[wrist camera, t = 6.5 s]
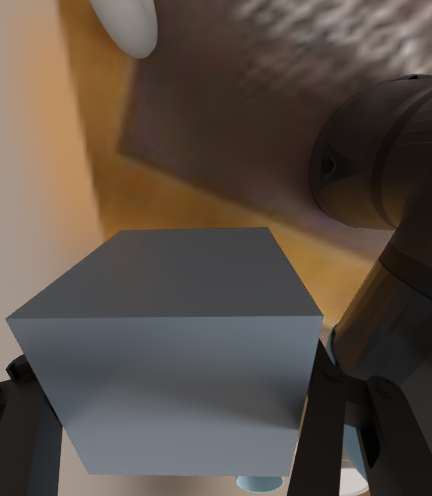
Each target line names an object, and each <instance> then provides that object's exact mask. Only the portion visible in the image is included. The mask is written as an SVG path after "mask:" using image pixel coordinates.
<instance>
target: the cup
mask: <svg viewBox="0 0 432 496" xmlns="http://www.w3.org/2000/svg"><path fill="white" fill-rule="evenodd" d="M236 483H237V485H238V486H239V487H240V488H242V489H244V490H246V491H249V492H255V493H266V492H271V491H275V490H277V489H279V488H280V487H282V486H283V484H284V478H283V477H265V476H236Z"/></svg>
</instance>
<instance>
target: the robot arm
mask: <svg viewBox="0 0 432 496" xmlns="http://www.w3.org/2000/svg"><path fill="white" fill-rule="evenodd" d="M309 175H310V185H311V189H312V192H313V195H314V197H315V199H316V201H317V203H318V204H319V206H320V207H321V208H322V209H323V211H325V212H326V213H327V214H328V215H329V216H331V217H332V218H334V219H336V220H337V221H339V222H341V223H343V224H345V225H347V226H350V227H354V228H358V229H365V230H396V231H395V232H394V234H393V236H392V237H391V239H390V241H389V242H388V244H387V246H386V247H385V249H384V251H383V252H382V254H381V255H380V257H379V258H378V259H377V261H376V263H375V264H374V266H373V267H372V269H371V271H370V272H369V274H368V276H367V277H366V279H365V280H364V282H363V284H362V285H361V287H360V289H359V290H358V292H357V293H356V295H355V297H354V298H353V300H352V302H351V303H350V305H349V307H348V308H347V310H346V311H345V313H344V315H343V316H342V318H341V320H340V321H339V323H338V324H336V325H335V326H334V327H333V328H332V331H331V333H330V335H329V336H328V341H327V345H326V346H325V348H324V346H323V344H322V342H321V340H320V338H319V340H318V344H317V349H316V354H315V358H314V363H313V368H312V372H311V377H310V381H309V386H308V391H307V397H308V402H307V406H306V411H305V416H304V420H303V425H302V429H301V434H300V438H299V443H298V447H297V452H296V456H295V461H294V466H293V470H292V474H291V479H290V484H289V488H288V492H287V496H339V493H340V479H341V465H342V450H343V451H344V452H345V454H346V455H347V457H348V458H349V460H350V461H351V463H352V464H353V465H354V467H355V468H356V469H357V471H358V472H359V473H360V474H361V476H362V477H363V478H364V479H365V480H366V482H367V483H368V486H369V490H370V495H371V496H432V75H423V74H413V75H405V76H399V77H395V78H392V79H389V80H386V81H383V82H381V83H379V84H376V85H374V86H372V87H370V88H368V89H366V90H364V91H362V92H360V93H358V94H357V95H355V96H354V97H352V98H351V99H349V100H348V101H347V102H346V103H344V104H343V105H342V106H341V107H340V108H339V109H338V110H337V111H336V112H335V113H334V114H333V116H332V117H331V118H330V119H329V121H328V122H327V123H326V125H325V126H324V128H323V129H322V131H321V133H320V135H319V137H318V139H317V141H316V144H315V146H314V149H313V152H312V156H311V161H310V171H309ZM6 371H7V373H8V375H9V376H10V378H11V379H10V380H7V381H3V382H0V496H57V495H58V482H59V468H60V455H61V442H62V427H63V425H62V423H61V422H60V420H59V418H58V416H57V414H56V412H55V410H54V409H53V407H52V405H51V403H50V401H49V399H48V397H47V396H46V394H45V392H44V390H43V388H42V386H41V384H40V383H39V381H38V379H37V377H36V375H35V373H34V371H33V370H32V368H31V366H30V364H29V362H28V360H27V358H26V357H25V355H24V354H23V355H21V356H19V357H18V358H16V359H15V360H13V361H12V362H11V363H10V364H9V365H8V367H7V368H6Z"/></svg>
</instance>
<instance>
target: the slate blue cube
mask: <svg viewBox="0 0 432 496" xmlns="http://www.w3.org/2000/svg"><path fill="white" fill-rule="evenodd" d="M323 317H324V316H323V314H322V312H321V311H320V309H319V308H318V306H317V305H316V303H315V301H314V300H313V298H312V297H311V295H310V294H309V292H308V290H307V289H306V287H305V286H304V284H303V283H302V281H301V279H300V278H299V276H298V275H297V273H296V272H295V270H294V268H293V267H292V265H291V264H290V262H289V261H288V259H287V257H286V256H285V254H284V253H283V251H282V250H281V248H280V246H279V245H278V243H277V242H276V240H275V239H274V237H273V235H272V234H271V232H270V231H269V229H268V227H257V228H212V229H166V230H121V231H119V232H118V233H117V234H115V235H114V236H113V237H111V238H110V239H109V240H108V241H106V242H105V243H104V244H102V245H101V246H100V247H98V248H97V249H96V250H95V251H93V252H92V253H91V254H89V255H88V256H87V257H85V258H84V259H83V260H81V261H80V262H79V263H78V264H76V265H75V266H74V267H72V268H71V269H70V270H68V271H67V272H66V273H64V274H63V275H62V276H61V277H59V278H58V279H57V280H55V281H54V282H53V283H51V284H50V285H49V286H48V287H46V288H45V289H44V290H42V291H41V292H40V293H38V294H37V295H36V296H34V297H33V298H32V299H31V300H29V301H28V302H27V303H25V304H24V305H23V306H22V307H20V308H19V309H17V310H16V311H15V312H14V313H12V314H11V315H10V316H8V317H7V318H6V321H7V323H8V325H9V327H10V329H11V331H12V332H13V334H14V336H15V338H16V340H17V342H18V343H19V345H20V347H21V349H22V351H23V353H24V355H25V357H26V358H27V360H28V362H29V364H30V366H31V368H32V370H33V371H34V373H35V375H36V377H37V379H38V381H39V383H40V384H41V386H42V388H43V390H44V392H45V394H46V396H47V397H48V399H49V401H50V403H51V405H52V407H53V409H54V410H55V412H56V414H57V416H58V418H59V420H60V422H61V423H62V425H63V427H64V429H65V431H66V433H67V435H68V436H69V438H70V440H71V442H72V444H73V446H74V447H75V450H76V451H77V453H78V455H79V457H80V459H81V461H82V462H83V464H84V466H85V468H86V470H87V472H88V474H106V475H107V474H108V475H188V476H265V477H289V474H290V469H291V465H292V460H293V455H294V451H295V446H296V442H297V437H298V432H299V428H300V423H301V418H302V414H303V409H304V405H305V400H306V395H307V391H308V386H309V381H310V377H311V372H312V368H313V363H314V358H315V354H316V349H317V344H318V340H319V335H320V330H321V326H322V321H323Z"/></svg>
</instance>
